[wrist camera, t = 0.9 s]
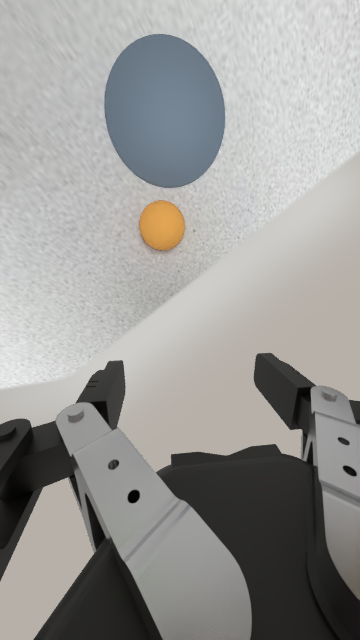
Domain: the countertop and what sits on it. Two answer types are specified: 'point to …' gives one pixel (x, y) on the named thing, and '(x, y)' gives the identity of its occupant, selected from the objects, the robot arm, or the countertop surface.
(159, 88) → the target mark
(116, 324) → the countertop surface
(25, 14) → the countertop surface
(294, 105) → the countertop surface
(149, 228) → the ball
